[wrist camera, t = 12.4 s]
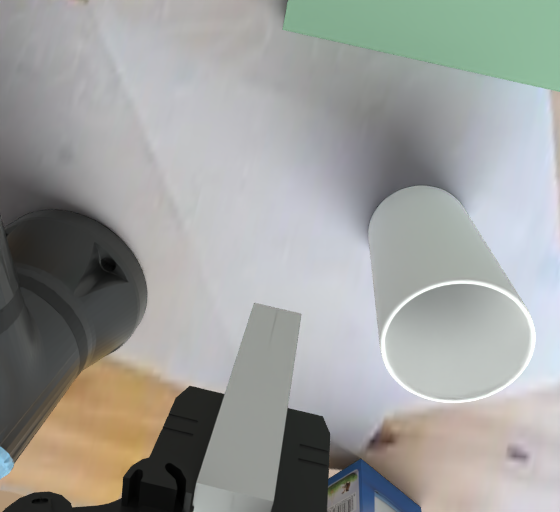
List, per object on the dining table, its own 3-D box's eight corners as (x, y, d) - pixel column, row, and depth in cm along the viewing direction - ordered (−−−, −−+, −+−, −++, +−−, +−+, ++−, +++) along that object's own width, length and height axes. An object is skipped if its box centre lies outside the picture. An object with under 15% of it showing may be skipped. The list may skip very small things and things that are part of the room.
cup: (404, 167, 39) (438, 252, 25) (490, 216, 40) (571, 326, 26) (349, 247, 43) (352, 362, 28) (429, 291, 43) (471, 424, 29)
